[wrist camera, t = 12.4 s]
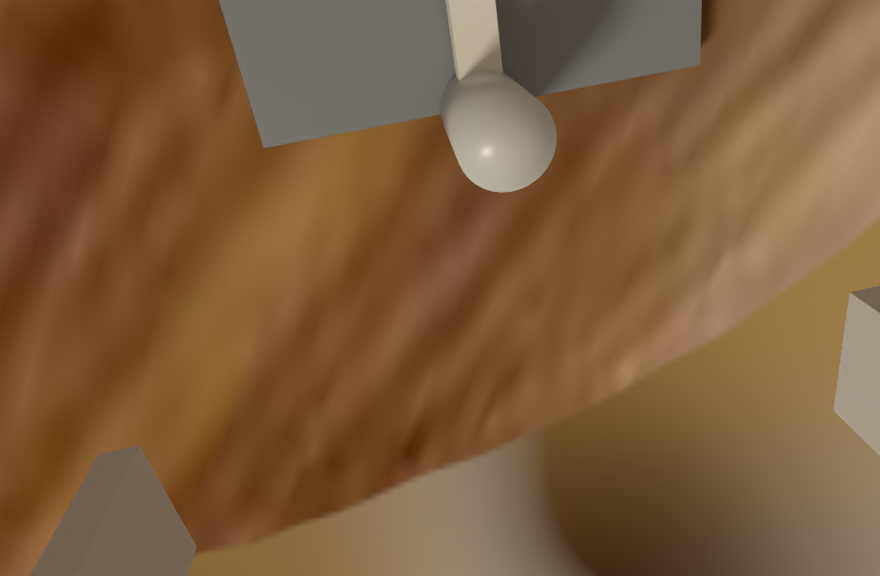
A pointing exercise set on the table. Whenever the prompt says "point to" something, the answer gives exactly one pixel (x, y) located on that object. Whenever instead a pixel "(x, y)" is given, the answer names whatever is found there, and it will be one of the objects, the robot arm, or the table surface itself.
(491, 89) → the locking lever
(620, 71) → the lock base
